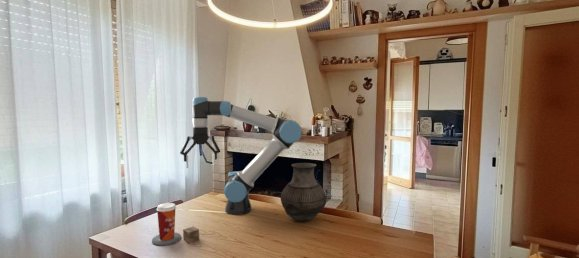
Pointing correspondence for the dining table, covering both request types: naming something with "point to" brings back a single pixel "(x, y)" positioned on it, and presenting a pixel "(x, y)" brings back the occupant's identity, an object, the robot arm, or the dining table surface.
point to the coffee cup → (166, 220)
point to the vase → (303, 193)
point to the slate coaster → (159, 242)
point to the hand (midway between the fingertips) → (200, 166)
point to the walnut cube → (190, 234)
